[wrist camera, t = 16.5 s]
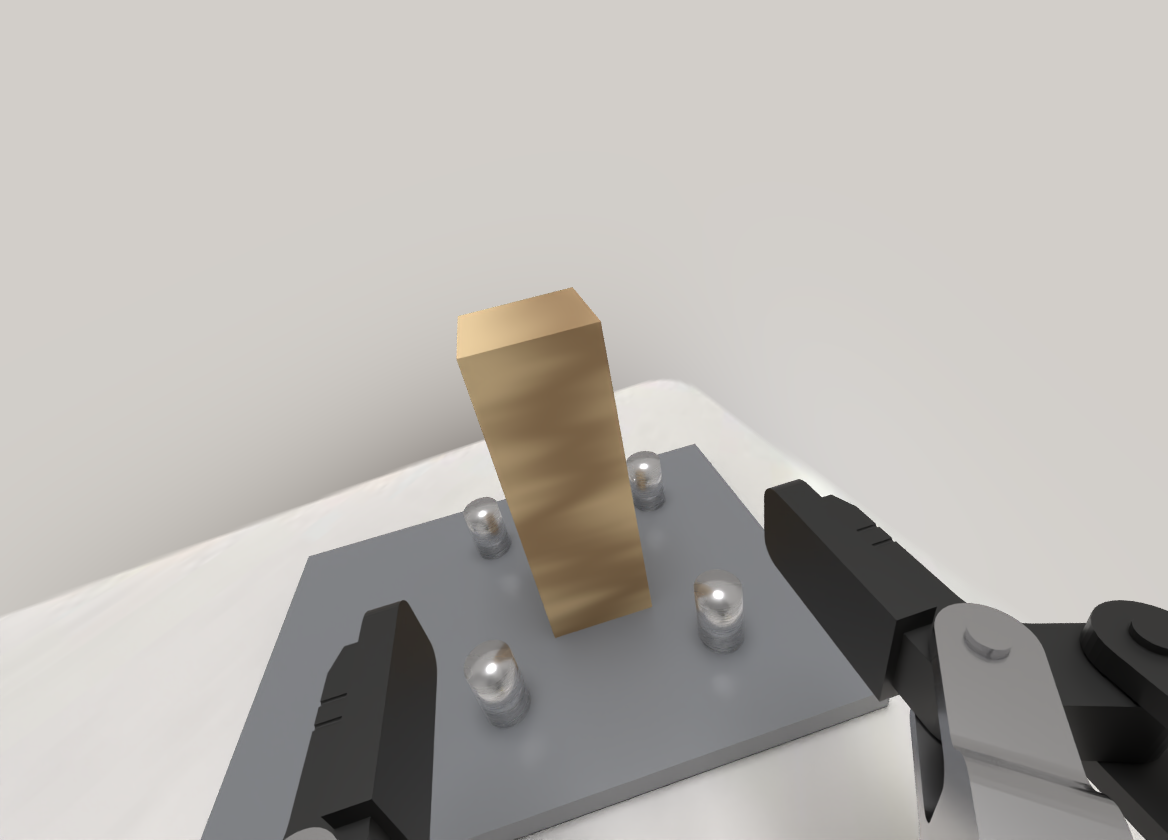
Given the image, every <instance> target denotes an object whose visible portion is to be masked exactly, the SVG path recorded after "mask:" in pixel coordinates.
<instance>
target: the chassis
mask: <svg viewBox="0 0 1168 840" xmlns="http://www.w3.org/2000/svg"><path fill="white" fill-rule="evenodd" d="M626 464H627V470H628V475H629V481H630V486H631V492H632V498H633V503H634V509H635V514H636V520H637V525H638V531H639V536H640V542H641V547H642V553H643V558H644V564H645V569H646V575H647V581H648V586H649V592H650V597H651V603H652V607H650V608H647V609H644V610H641V611H638V612H635V613H632V614H629V615H625V616H622V617H619V618H616V619H613V620H610V621H607V622H604V623H601V624H597V625H594V626H591V627H588V628H585V629H582V630H579V631H576V632H573V633H570V634H566V635H563V636H560V637H557V638H555V636H554V634H553V631H552V628H551V625H550V622H549V619H548V617H547V614H546V611H545V608H544V605H543V602H542V600H541V597H540V594H539V591H538V588H537V585H536V583H535V580H534V577H533V574H532V571H531V568H530V566H529V563H528V560H527V557H526V554H525V551H524V549H523V546H522V543H521V540H520V537H519V534H518V532H517V529H516V526H515V523H514V520H513V517H512V515H511V512H510V509H509V506H508V503H507V500H506V499H504V500H501V501H498V502H496V500H495V499H493V498H490V497H483V498H479V499H476V500H474V501H472V502H471V503H470V504H468V505H467V506H466V508H465V509H464V511H463V512H460V513H456V514H453V515H450V516H446V517H443V518H439V519H436V520H432V521H429V522H426V523H422V524H419V525H415V526H412V527H408V528H405V529H402V530H398V531H395V532H391V533H388V534H385V535H381V536H378V537H374V538H371V539H367V540H364V541H361V542H357V543H354V544H350V545H347V546H343V547H340V548H337V549H333V550H330V551H326V552H323V553H319V554H316V555H313V556H309V558H308V560H307V563H306V565H305V568H304V571H303V573H302V576H301V578H300V581H299V584H298V586H297V589H296V592H295V594H294V597H293V599H292V602H291V605H290V607H289V610H288V612H287V615H286V618H285V620H284V623H283V626H282V628H281V631H280V633H279V636H278V639H277V641H276V644H275V646H274V649H273V652H272V654H271V657H270V660H269V662H268V665H267V667H266V670H265V673H264V675H263V678H262V680H261V683H260V686H259V688H258V691H257V694H256V696H255V699H254V701H253V704H252V707H251V709H250V712H249V714H248V717H247V720H246V722H245V725H244V727H243V730H242V733H241V735H240V738H239V741H238V743H237V746H236V748H235V751H234V754H233V756H232V759H231V761H230V764H229V767H228V769H227V772H226V775H225V777H224V780H223V782H222V785H221V788H220V790H219V793H218V795H217V798H216V801H215V803H214V806H213V809H212V811H211V814H210V816H209V819H208V822H207V824H206V827H205V829H204V832H203V835H202V837H201V840H283V838H284V835H285V833H286V830H287V827H288V823H289V820H290V816H291V812H292V808H293V804H294V800H295V796H296V793H297V789H298V785H299V781H300V777H301V773H302V769H303V765H304V762H305V758H306V754H307V750H308V746H309V742H310V738H311V735H312V731H314V730H315V726H314V723H315V719H316V715H317V711H318V707H320V706H321V702H320V700H321V696H322V692H323V688H324V684H325V680H326V677H327V673H328V671H329V670H330V668H331V667H332V665H333V663H334V662H335V660H336V658H337V657H338V655H339V654H340V652H341V650H342V649H343V647H344V646H346V645H349V644H353V643H356V642H358V639H359V634H360V629H361V625H362V620H363V617H364V614H365V613H366V612H367V611H369V610H372V609H376V608H379V607H382V606H385V605H389V604H392V603H395V602H398V601H401V600H405V601H407V602H408V603H409V605H410V607H411V608H412V610H413V612H414V614H415V615H416V617H417V619H418V621H419V623H420V624H421V626H422V628H423V630H424V631H425V633H426V635H427V637H428V638H429V640H430V642H431V644H432V646H433V649H434V653H435V657H436V663H437V692H436V714H435V736H434V757H433V779H432V801H431V823H430V840H515V839H518V838H521V837H524V836H526V835H529V834H532V833H535V832H538V831H540V830H543V829H546V828H549V827H552V826H554V825H557V824H560V823H563V822H565V821H568V820H571V819H574V818H577V817H579V816H582V815H585V814H588V813H591V812H593V811H596V810H599V809H602V808H604V807H607V806H610V805H613V804H616V803H618V802H621V801H624V800H627V799H630V798H632V797H635V796H638V795H641V794H643V793H646V792H649V791H652V790H655V789H657V788H660V787H663V786H666V785H669V784H671V783H674V782H677V781H680V780H682V779H685V778H688V777H691V776H694V775H696V774H699V773H702V772H705V771H707V770H710V769H713V768H716V767H719V766H721V765H724V764H727V763H730V762H733V761H735V760H738V759H741V758H744V757H746V756H749V755H752V754H755V753H758V752H760V751H763V750H766V749H769V748H772V747H774V746H777V745H780V744H783V743H785V742H788V741H791V740H794V739H797V738H799V737H802V736H805V735H808V734H811V733H813V732H816V731H819V730H822V729H824V728H827V727H830V726H833V725H836V724H838V723H841V722H844V721H847V720H850V719H852V718H855V717H858V716H861V715H863V714H866V713H869V712H872V711H875V710H877V709H880V708H883V707H886V706H888V702H889V698H888V699H886V700H883V701H880V702H879V701H878V699H877V698H876V697H875V695H874V694H873V693H872V691H871V690H870V689H869V688H868V686H867V685H866V684H865V682H864V681H863V680H862V678H861V677H860V676H859V674H858V673H857V672H856V671H855V669H854V668H853V667H852V665H851V664H850V663H849V661H848V660H847V659H846V658H845V656H844V655H843V654H842V652H841V651H840V650H839V648H838V647H837V646H836V645H835V643H834V642H833V641H832V639H831V638H830V637H829V635H828V634H827V633H826V631H825V630H824V629H823V628H822V626H821V625H820V624H819V622H818V621H817V620H816V618H815V617H814V616H813V615H812V613H811V612H810V611H809V609H808V608H807V607H806V605H805V604H804V603H803V601H802V600H801V599H800V598H799V596H798V595H797V594H796V592H795V591H794V590H793V588H792V587H791V586H790V585H789V583H788V582H787V581H786V579H785V578H784V577H783V575H782V574H781V573H780V572H779V570H778V569H777V568H776V566H775V565H774V563H773V562H772V560H771V558H770V556H769V554H768V551H767V548H766V544H765V538H764V529H763V528H762V527H761V525H760V524H759V523H758V522H757V520H756V519H755V518H754V517H753V515H752V514H751V513H750V512H749V510H748V509H747V508H746V507H745V505H744V504H743V503H742V502H741V500H740V499H739V498H738V497H737V495H736V494H735V493H734V492H733V490H732V489H731V488H730V487H729V486H728V484H727V483H726V482H725V481H724V479H723V478H722V477H721V476H720V474H719V473H718V472H717V471H716V469H715V468H714V467H713V466H712V464H711V463H710V462H709V461H708V459H707V458H706V457H705V456H704V454H703V453H702V452H701V451H700V449H699V448H698V447H697V446H696V445H695V444H693V445H689V446H686V447H682V448H679V449H676V450H672V451H669V452H665V453H662V454H658V455H657V454H655V453H653V452H649V451H642V452H637V453H635V454H633V455H631V456H630V457H629V458H628V459H627V462H626Z"/></svg>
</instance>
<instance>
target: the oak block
mask: <svg viewBox="0 0 1168 840" xmlns="http://www.w3.org/2000/svg"><path fill="white" fill-rule="evenodd" d="M457 362H458V364H459V367H460V370H461V373H462V375H463V379H464V381H465V384H466V387H467V390H468V393H469V396H470V398H471V401H472V404H473V406H474V410H475V412H476V415H477V418H478V421H479V424H480V427H481V430H482V432H483V435H484V438H485V441H486V444H487V447H488V449H489V452H490V455H491V458H492V461H493V464H494V466H495V469H496V472H497V475H498V478H499V481H500V483H501V486H502V489H503V492H504V495H505V498H506V500H507V503H508V506H509V509H510V512H511V515H512V517H513V520H514V523H515V526H516V529H517V532H518V534H519V537H520V540H521V543H522V546H523V549H524V551H525V554H526V557H527V560H528V563H529V566H530V568H531V571H532V574H533V577H534V580H535V583H536V585H537V588H538V591H539V594H540V597H541V600H542V602H543V605H544V608H545V611H546V614H547V617H548V619H549V622H550V625H551V628H552V631H553V634H554V636H555V638H557V637H560V636H563V635H566V634H570V633H573V632H576V631H579V630H582V629H585V628H588V627H591V626H594V625H597V624H601V623H604V622H607V621H610V620H613V619H616V618H619V617H622V616H625V615H629V614H632V613H635V612H638V611H641V610H644V609H647V608H650V607H652V603H651V597H650V592H649V586H648V581H647V575H646V569H645V564H644V558H643V553H642V547H641V542H640V536H639V531H638V525H637V520H636V514H635V509H634V503H633V498H632V492H631V486H630V481H629V475H628V470H627V464H626V459H625V453H624V448H623V442H622V437H621V431H620V426H619V420H618V415H617V409H616V403H615V398H614V392H613V387H612V381H611V376H610V370H609V365H608V360H607V354H606V348H605V343H604V338H603V332H602V326H601V321H600V320H599V319H598V318H597V316H596V315H595V314H594V313H593V312H592V310H591V309H590V308H589V307H588V305H587V304H586V303H585V302H584V301H583V299H582V298H581V297H580V296H579V295H578V293H577V292H576V291H575V290H574V289H573V288H568V289H564V290H560V291H556V292H552V293H548V294H544V295H540V296H536V297H532V298H529V299H524V300H520V301H516V302H512V303H509V304H505V305H501V306H497V307H493V308H489V309H485V310H481V311H477V312H473V313H469V314H465V315H462V316H458V331H457Z"/></svg>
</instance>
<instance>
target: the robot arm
mask: <svg viewBox="0 0 1168 840" xmlns="http://www.w3.org/2000/svg"><path fill="white" fill-rule="evenodd" d="M764 538H765V544H766V548H767V551H768V554H769V556H770V558H771V560H772V562H773V563H774V565H775V566H776V568H777V569H778V570H779V572H780V573H781V574H782V575H783V577H784V578H785V579H786V581H787V582H788V583H789V585H790V586H791V587H792V588H793V590H794V591H795V592H796V594H797V595H798V596H799V598H800V599H801V600H802V601H803V603H804V604H805V605H806V607H807V608H808V609H809V611H810V612H811V613H812V615H813V616H814V617H815V618H816V620H817V621H818V622H819V624H820V625H821V626H822V628H823V629H824V630H825V631H826V633H827V634H828V635H829V637H830V638H831V639H832V641H833V642H834V643H835V645H836V646H837V647H838V648H839V650H840V651H841V652H842V654H843V655H844V656H845V658H846V659H847V660H848V661H849V663H850V664H851V665H852V667H853V668H854V669H855V671H856V672H857V673H858V674H859V676H860V677H861V678H862V680H863V681H864V682H865V684H866V685H867V686H868V688H869V689H870V690H871V691H872V693H873V694H874V695H875V697H876V698H877V699H878V701H879V702H880V701H883V700H886V699H888V698H891V697H894V696H897V695H900V696H901V697H902V698H903V699H904V701H905V702H906V703H907V704H908V706H909V707H910V708H911V710H910V727H911V738H912V749H913V760H914V772H915V783H916V794H917V805H918V817H919V840H1133V837H1132V834H1131V832H1130V829H1129V827H1128V824H1127V822H1126V820H1125V818H1126V819H1127V820H1128V821H1129V822H1130V824H1131V825H1132V826H1133V827H1134V828H1135V829H1136V830H1137V831H1138V832H1139V833H1140V834H1141V835H1142V836H1143V837H1144V838H1145V839H1146V840H1168V611H1166V610H1164V609H1161V608H1158V607H1155V606H1152V605H1148V604H1144V603H1139V602H1134V601H1124V600H1118V601H1109V602H1104V603H1102V604H1100V605H1098V606H1097V607H1095V609H1094V610H1093V611H1092V613H1091V615H1090V617H1089V619H1088V621H1087V623H1051V624H1048V623H1047V624H1029V623H1021V622H1019V621H1018V620H1016V619H1015V618H1013V617H1011V616H1010V615H1008V614H1006V613H1004V612H1002V611H999V610H997V609H994V608H991V607H988V606H984V605H980V604H973V603H966V602H965V601H963V600H962V599H961V598H959V597H958V596H957V595H956V594H955V593H953V592H952V591H951V590H950V589H949V588H948V587H947V586H946V585H944V584H943V583H942V582H941V581H940V580H939V579H938V578H937V577H935V576H934V575H933V574H932V573H931V572H930V571H929V570H927V569H926V568H925V567H924V566H923V565H922V564H921V563H920V562H918V561H917V560H916V559H915V558H914V557H913V556H912V555H911V554H909V553H908V552H907V551H906V550H905V549H904V548H903V547H902V546H900V545H899V544H898V543H897V542H893V541H892V538H891V537H890V536H889V535H888V534H887V533H886V532H885V531H883V530H882V529H881V528H880V527H877V526H876V523H874V522H873V521H872V520H871V519H870V518H869V517H868V516H867V515H865V514H864V513H863V512H862V511H861V510H860V509H859V508H857V507H856V506H854V505H852V504H850V503H848V502H846V501H844V500H842V499H839V498H837V497H835V496H833V495H828V496H825V497H821V496H820V495H819V494H818V493H817V492H816V491H814V490H813V489H812V488H811V487H810V486H809V485H808V484H807V483H806V482H804V481H803V480H800V479H798V480H795V481H791V482H788V483H785V484H782V485H778V486H775V487H772V488H769V489H767V490H766V491H765V494H764ZM436 692H437V663H436V657H435V653H434V649H433V646H432V644H431V642H430V640H429V638H428V637H427V635H426V633H425V631H424V630H423V628H422V626H421V624H420V623H419V621H418V619H417V617H416V615H415V614H414V612H413V610H412V608H411V607H410V605H409V603H408V602H407V601H405V600H401V601H398V602H395V603H392V604H389V605H385V606H382V607H379V608H376V609H372V610H369V611H367V612H366V613H365V614H364V617H363V620H362V625H361V629H360V634H359V639H358V642H356V643H353V644H349V645H346V646H344V647H343V649H342V650H341V652H340V654H339V655H338V657H337V658H336V660H335V662H334V663H333V665H332V667H331V668H330V670H329V671H328V673H327V677H326V680H325V684H324V688H323V692H322V696H321V700H320V702H321V706H320V707H318V711H317V715H316V719H315V723H314V726H315V730H314V731H312V735H311V738H310V742H309V746H308V750H307V754H306V758H305V762H304V765H303V769H302V773H301V777H300V781H299V785H298V789H297V793H296V796H295V800H294V804H293V808H292V812H291V816H290V820H289V823H288V827H287V830H286V833H285V835H284V838H283V840H430V823H431V801H432V779H433V757H434V736H435V714H436ZM1087 778H1088V779H1089V780H1090V781H1091V782H1092V783H1093V784H1094V785H1095V786H1096V787H1097V789H1098V790H1099V791H1100V792H1101V793H1100V792H1097V791H1095V790H1094V789H1093V788H1092V786H1091V785H1090V783H1089V781H1088V779H1087ZM1124 817H1125V818H1124Z"/></svg>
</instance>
